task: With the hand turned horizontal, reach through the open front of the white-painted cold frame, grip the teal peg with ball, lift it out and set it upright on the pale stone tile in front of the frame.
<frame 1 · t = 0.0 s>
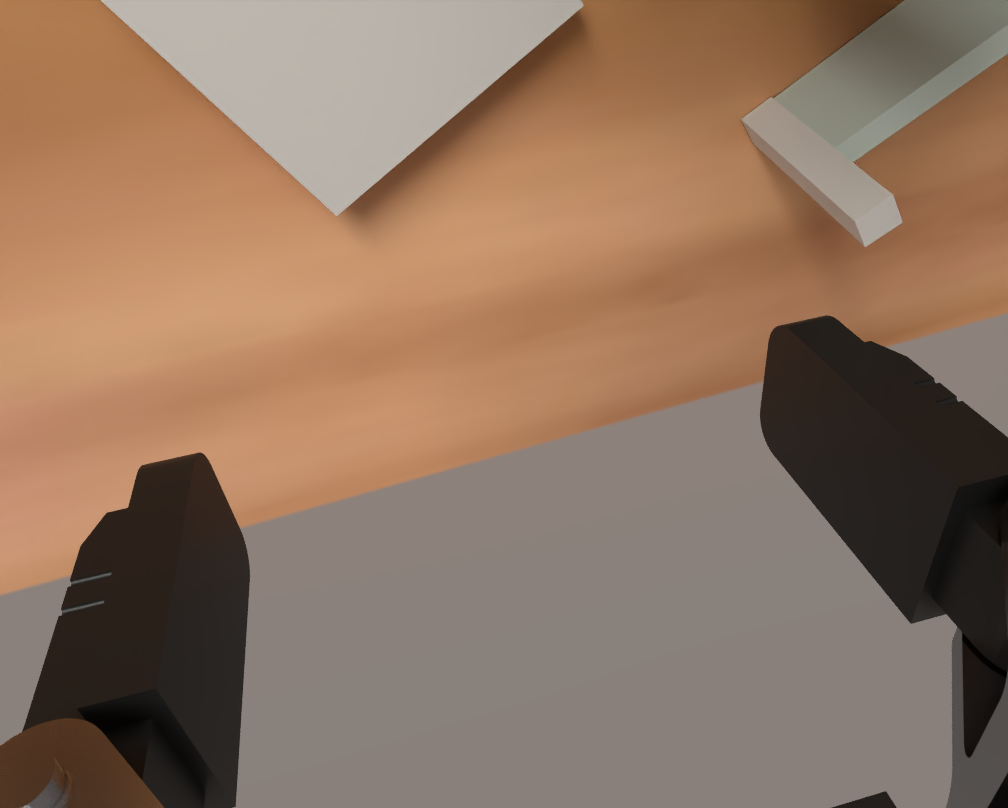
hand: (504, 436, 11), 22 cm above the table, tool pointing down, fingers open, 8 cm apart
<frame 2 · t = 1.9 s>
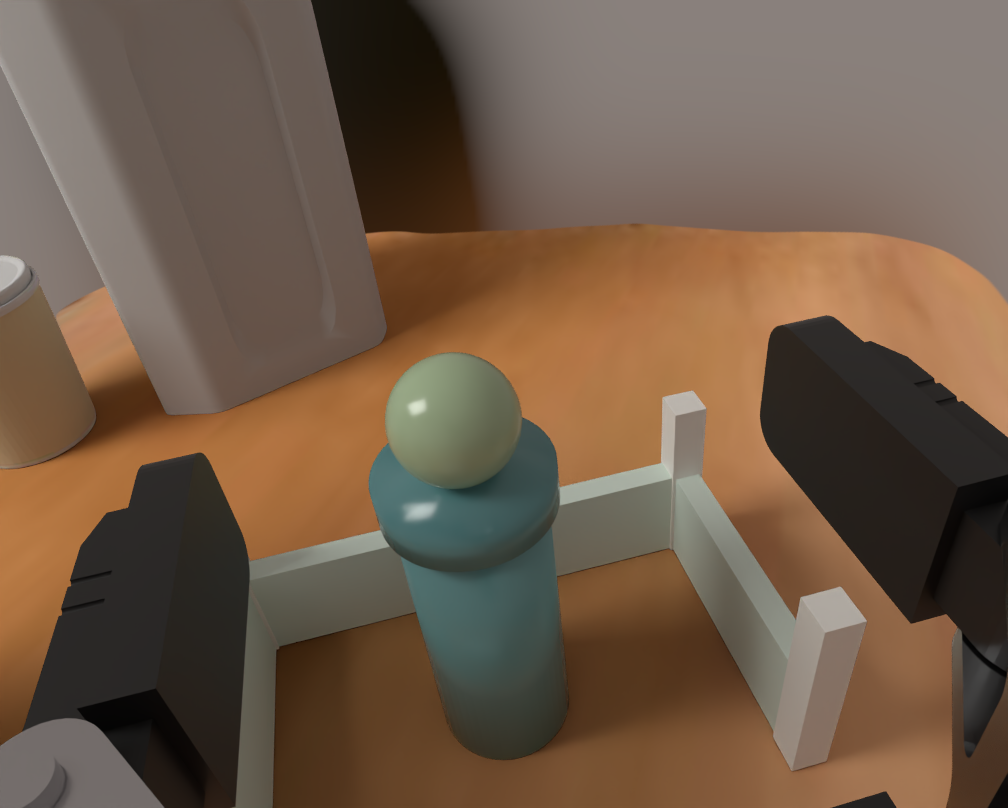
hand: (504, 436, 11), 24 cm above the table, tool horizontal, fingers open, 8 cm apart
coffee cup: (42, 435, 55), on the table
teal peg with ball: (506, 698, 34), on the table
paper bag: (297, 341, 62), on the table
cold frame: (506, 698, 34), on the table
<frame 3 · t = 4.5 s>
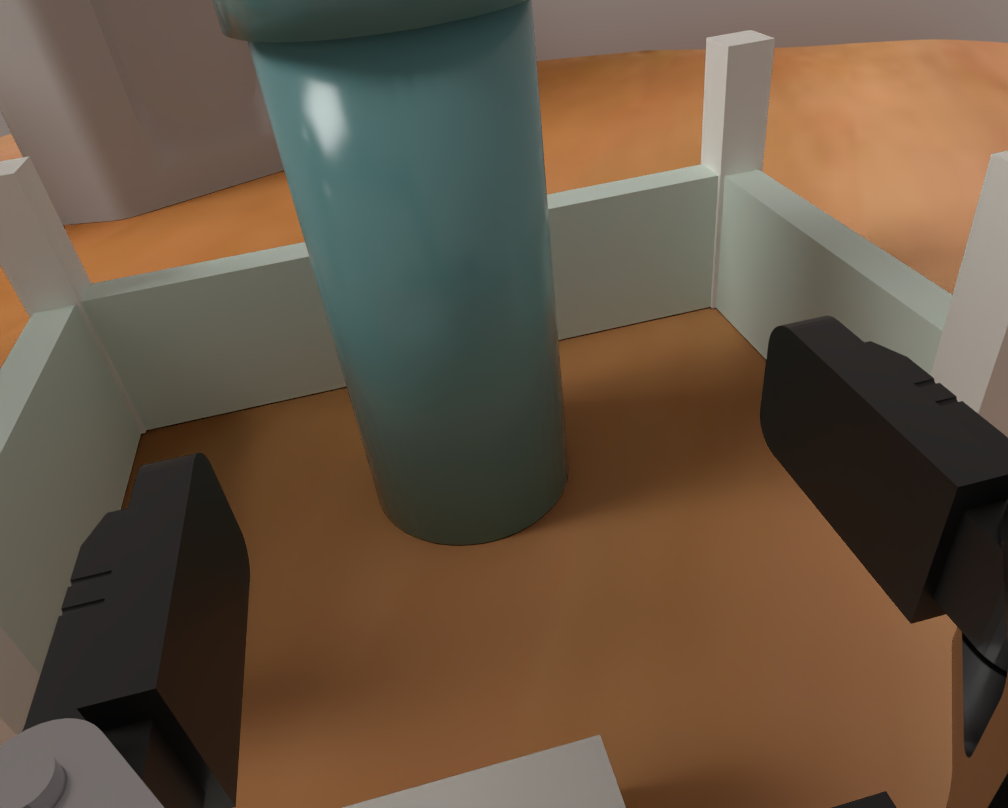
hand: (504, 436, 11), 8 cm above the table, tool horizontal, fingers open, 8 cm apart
teal peg with ball: (472, 473, 22), on the table
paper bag: (232, 160, 50), on the table
cold frame: (472, 473, 22), on the table
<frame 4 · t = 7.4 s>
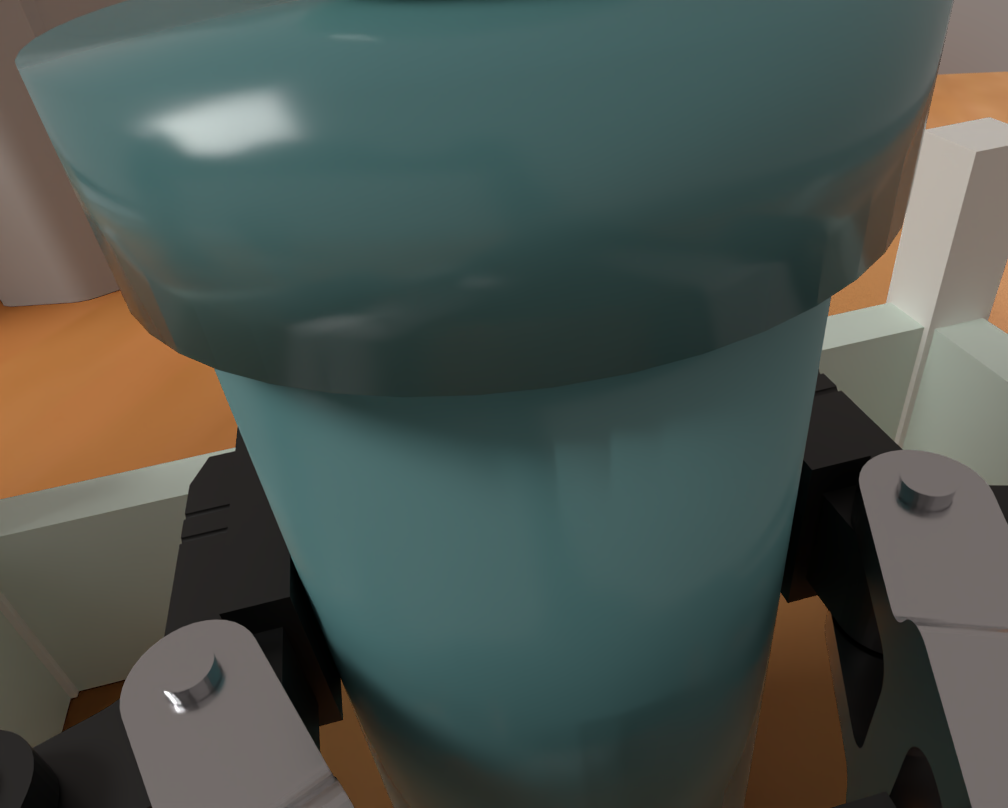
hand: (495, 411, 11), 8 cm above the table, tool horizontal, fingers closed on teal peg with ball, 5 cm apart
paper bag: (221, 215, 42), on the table
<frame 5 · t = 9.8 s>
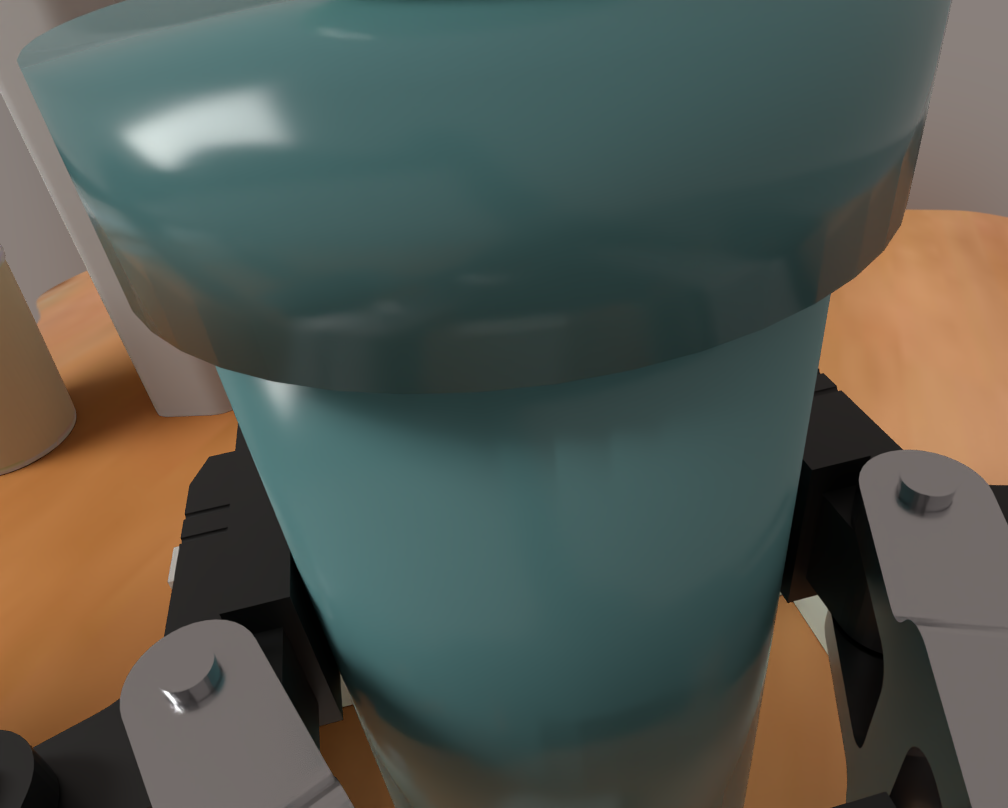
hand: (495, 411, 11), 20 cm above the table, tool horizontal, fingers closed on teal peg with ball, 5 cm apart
coffee cup: (13, 439, 47), on the table
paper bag: (310, 331, 53), on the table
cold frame: (593, 801, 26), on the table
when the fingers open (11 cm above the table, at t = 12.7 s): teal peg with ball drops 1 cm, resting on stone tile.
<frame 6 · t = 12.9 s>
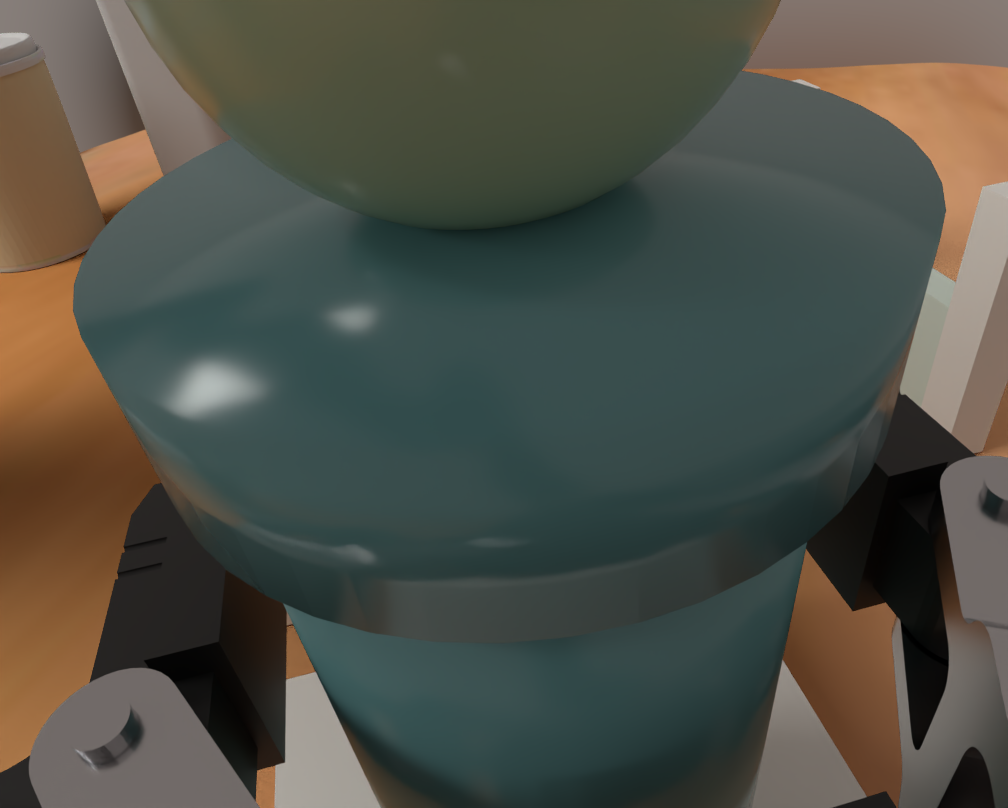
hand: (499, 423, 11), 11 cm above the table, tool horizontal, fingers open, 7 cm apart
coffee cup: (48, 248, 50), on the table
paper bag: (323, 168, 57), on the table
cold frame: (590, 418, 29), on the table
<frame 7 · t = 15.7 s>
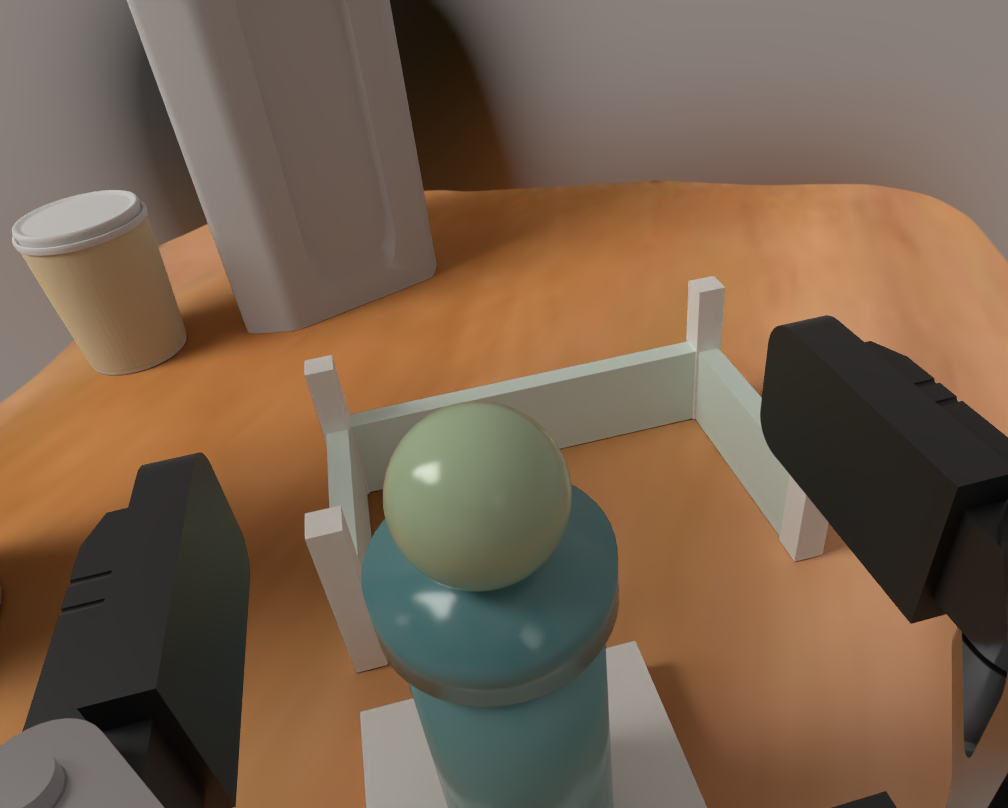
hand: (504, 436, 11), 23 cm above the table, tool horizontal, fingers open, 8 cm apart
coffee cup: (141, 351, 63), on the table
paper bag: (357, 277, 70), on the table
cold frame: (561, 521, 42), on the table
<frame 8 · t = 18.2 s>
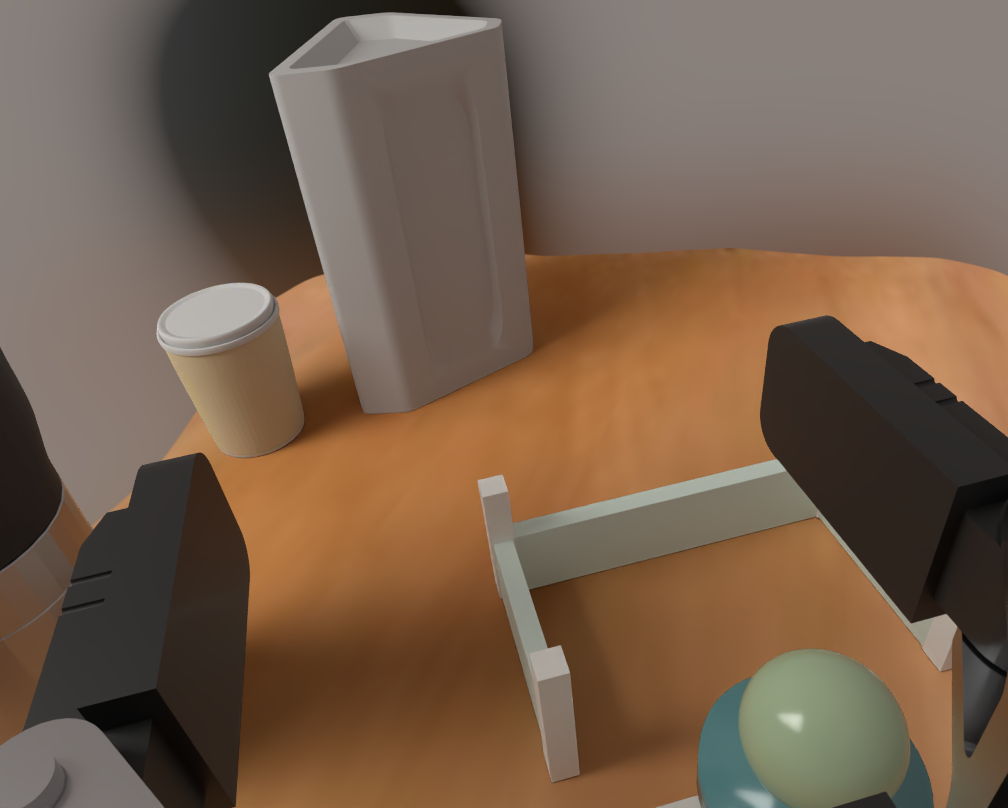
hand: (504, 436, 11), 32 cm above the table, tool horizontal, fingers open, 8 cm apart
coffee cup: (261, 431, 66), on the table
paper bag: (456, 351, 73), on the table
cold frame: (712, 625, 45), on the table
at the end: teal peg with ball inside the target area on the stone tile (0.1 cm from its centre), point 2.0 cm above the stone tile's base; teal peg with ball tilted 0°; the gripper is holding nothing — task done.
